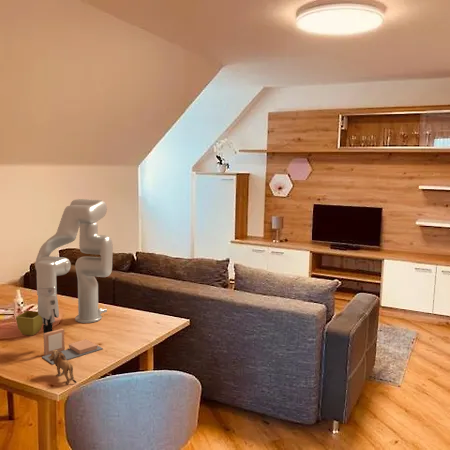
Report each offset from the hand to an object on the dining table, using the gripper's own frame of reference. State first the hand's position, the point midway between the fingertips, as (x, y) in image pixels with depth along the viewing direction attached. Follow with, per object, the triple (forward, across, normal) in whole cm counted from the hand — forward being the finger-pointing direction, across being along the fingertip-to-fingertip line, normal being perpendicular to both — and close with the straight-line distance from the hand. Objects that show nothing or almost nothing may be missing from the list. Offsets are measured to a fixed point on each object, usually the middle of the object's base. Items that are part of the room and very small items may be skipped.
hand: (48, 333), depth 193 cm
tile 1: (+7, -5, 0) cm, 9 cm away
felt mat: (+7, -11, -5) cm, 14 cm away
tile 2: (+5, -6, -10) cm, 13 cm away
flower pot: (+7, +22, -2) cm, 23 cm away
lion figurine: (+7, -28, +8) cm, 30 cm away
